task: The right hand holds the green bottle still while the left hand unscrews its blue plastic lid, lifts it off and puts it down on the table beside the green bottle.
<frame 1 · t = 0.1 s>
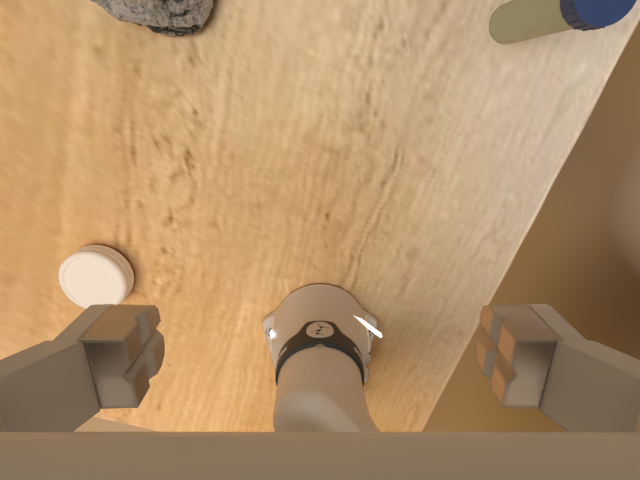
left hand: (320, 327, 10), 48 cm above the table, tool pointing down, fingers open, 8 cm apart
white round tin: (103, 272, 63), on the table
green bottle: (507, 23, 50), on the table
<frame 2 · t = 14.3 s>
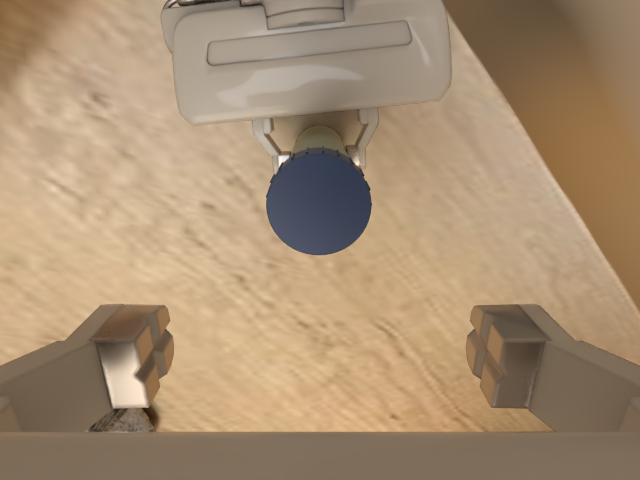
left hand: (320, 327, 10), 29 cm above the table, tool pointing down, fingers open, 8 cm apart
right hand: (320, 171, 33), fingers closed on green bottle, 4 cm apart
lid: (318, 205, 20), point 18 cm above the table, screwed on, not yet turned
green bottle: (319, 150, 38), on the table, touching right hand
rock: (103, 428, 50), on the table
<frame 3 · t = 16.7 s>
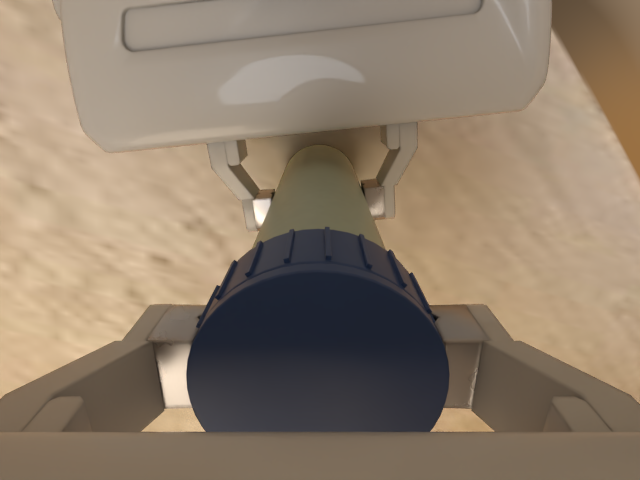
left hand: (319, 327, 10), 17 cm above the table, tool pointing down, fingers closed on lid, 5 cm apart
right hand: (321, 222, 21), fingers closed on green bottle, 4 cm apart
lid: (317, 377, 8), point 18 cm above the table, screwed on, not yet turned, touching left hand
green bottle: (319, 180, 26), on the table, touching right hand
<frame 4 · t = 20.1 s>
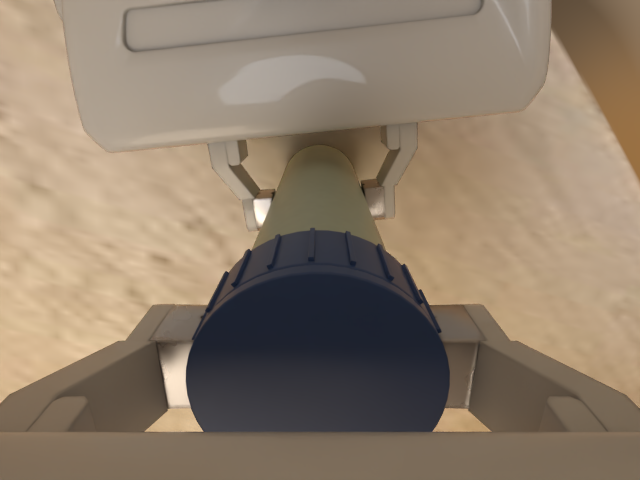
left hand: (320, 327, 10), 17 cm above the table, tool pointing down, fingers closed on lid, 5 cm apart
right hand: (321, 221, 21), fingers closed on green bottle, 4 cm apart
lid: (317, 379, 8), point 19 cm above the table, turned 93° so far, risen 0.1 cm, still on its thread, touching left hand
green bottle: (319, 180, 26), on the table, touching right hand
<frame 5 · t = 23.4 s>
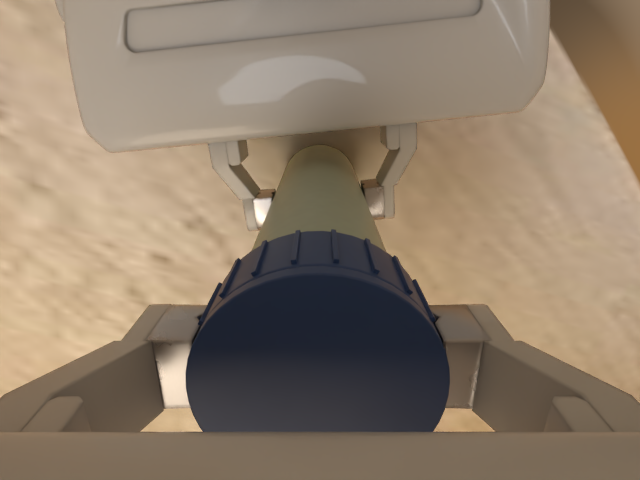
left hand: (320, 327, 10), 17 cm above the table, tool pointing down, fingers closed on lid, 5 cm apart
right hand: (321, 221, 21), fingers closed on green bottle, 4 cm apart
lid: (317, 380, 8), point 19 cm above the table, turned 186° so far, risen 0.2 cm, still on its thread, touching left hand
green bottle: (319, 180, 26), on the table, touching right hand
when the left hand's fingers open (2 cm above the table, at t = 39.5 s): lid drops 2 cm, point 2 cm above the table.
when the right hand's fingers open (6 cm above the table, at t = 40.5 s): green bottle stays where it is, on the table.
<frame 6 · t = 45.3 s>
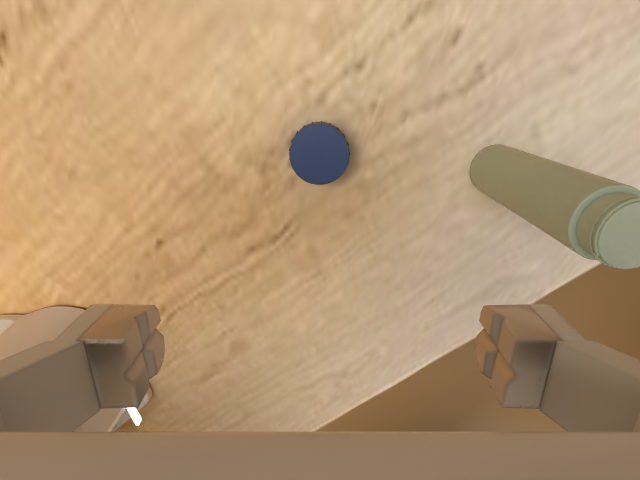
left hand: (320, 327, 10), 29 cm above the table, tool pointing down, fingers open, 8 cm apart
lid: (319, 154, 36), point 2 cm above the table, off its thread
green bottle: (493, 168, 38), on the table
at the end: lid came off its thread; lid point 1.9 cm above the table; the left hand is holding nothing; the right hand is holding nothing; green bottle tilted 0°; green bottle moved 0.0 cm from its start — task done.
